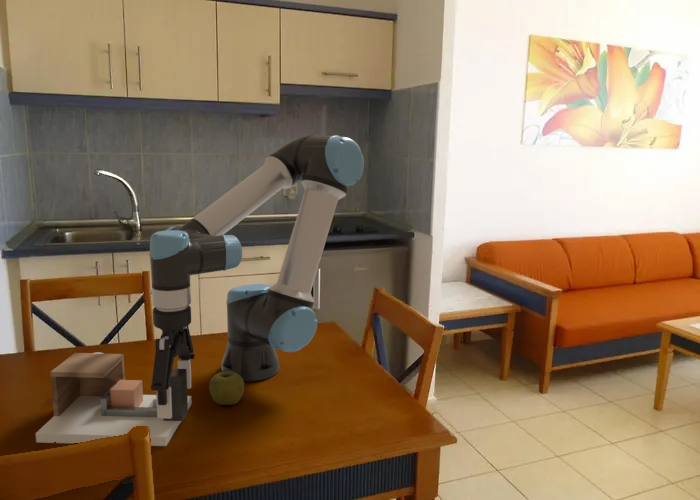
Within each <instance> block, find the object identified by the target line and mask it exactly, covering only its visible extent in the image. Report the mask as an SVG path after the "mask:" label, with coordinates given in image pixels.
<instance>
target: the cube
mask: <svg viewBox="0 0 700 500" xmlns="http://www.w3.org/2000/svg"><path fill="white" fill-rule="evenodd" d="M143 391H144V389H143V380H139V379H134V380H133V379H130V380H129V379H125V380H119V381H118V382H117V383H116V384H115V385H114V386H113V387H112V388H111V390H110V393H111V406H120V407H139V406H140V404H141V403H142V402H143V395H144V392H143Z"/></svg>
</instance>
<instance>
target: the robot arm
mask: <svg viewBox="0 0 700 500" xmlns="http://www.w3.org/2000/svg"><path fill="white" fill-rule="evenodd" d="M361 149H362V148H360V146H359V144H358V143H357V142H356V141H355V140H353V139H351V138H350V137H347V136H340V135H313V134H312V135H311V134H310V135H303V136H300V137H297V138H295V139H293V140H291V141H289V142H287V143H286V144H284V145H283V146H281V147H280V148H278V149H277V150H275V151H274V152H272V153H271V154H270V155H269V156H267V157H266V158H265V159H264V164H263V165H262V166H260V167H259V168H258V169H257V170H256V171H253V173H251V174H250V175H248V176H247V177H246V178H245V179H243V180H242V181H241V182H239V183H238V184H236V185H235V186H234V187H232V188H231V189H230V190H228V191H227V192H226V193H224V194H223V195H222V196H220V197H219V198H218V199H217V200H215V201H214V202H213V203H211V204H209V206H207V207H206V208H204V209H203V210H202V211H200V212H199V213H198V214H196V215H195V216H193V217H192V218H191V219H190V220H188V221H187V222H185V223H184V224H183V225H180V226H179V225H177V226H176V225H175V226H170V227H167V228H166V229H165V230H161V231H160V230H159V231H156V232H154V233H152V235H151V236H150V240H149V241H150V243H149V259H150V260H149V261H150V275H151V277H150V278H151V289H150V291H149V295H152V300H151V301H152V306H153V307H154V308H153V309H152V324H153V326H154V328H157V329H160V330H161V331H162V332H161V335H160V337H159V338H156V339H155V354H154V363H153V370H152V378H151V379H152V380H151V385H150V389H151V391H155V393H156V394H155V395H156V397H157V407H156V408H157V418H165V419H171V418H172V402H171V387H169V383H170V378H171V372H172V369H173V367H174V362H175V357H177V358H179V359H178V360H177V369H187V390H189V389H191V388H192V367H191V364H192V361H191V360H194V359H195V353H194V351H195V350H194V347H193V346H194V345H193V342H192V336H191V334H190V333H191V332H190V329H189V327H190V326H189V325H191V323H192V307H191V306H190V304H192V295H191V294H192V293H191V292H192V291H191V276H195V275H196V276H197V275H200V274H201V275H202V274H208V273H214V272H215V273H216V272H221V271H224V272H225V271H228V270H230V269H234V268H237V267H238V266H240V264H241V262H242V259H243V247H242V244H241V241H240V240H239V238H237V236H235V235H233V234H226V233H227V232H229V231H230V230H231V229H232V228H234V227H236V226H237V225H238V224H239V223H240V222H241V221H242V220H244V219H245V218H246V217H248V216H250V215H251V213H253V212H254V211H256V210H257V209H258V208H259V207H261V206H262V205H263V204H265V203H266V202H267V201H269V200H270V199H271V198H272V197H273V196H274V195H276V194H277V193H278V192H279V191H281V190H282V189H285V190H287V189H290V188H291V187H292V186H293V185H295V184H297V183H301V186H302V187H303V190H304V193H303V196H302V199H301V202H300V206H299V209H298V213H297V216H296V218H295V222H294V226H293V228H292V232H291V234H290V237H289V238H290V239H289V241H288V242H289V243H288V246H287V249H286V252H285V255H284V259H283V262H282V266H281V268H280V272H279V275H278V278H277V282H276V283H275V284H273V285H270V284H268V283H267V284H266V283H265V284H264V283H263V284H262V283H252V284H244V285H239V286H235V287H232V288H230V289H229V290H228V292H227V295H226V297H227V298H226V313H227V316H226V317H227V319H226V321H227V324H226V325H227V344H226V347H225V352H224V355H223V357H222V360H221V364H220V365H221V369H220V370H221V372H224V371H232V372H235V373H237V374H239V375H240V376H241V377H242V379H243V381H244V382H256V381H257V382H258V381H262V380H266V379H270V378H271V377H274V376H275V375H276V374H277V373H278V372H279V370H280V360H279V358H278V354H277V351H276V350H280V351H283V352H286V353H295V352H299V351H300V350H302V349H303V348H304V347H306V346H307V345H308V344H310V342H311V341H312V339H313V338H314V336H315V334H316V332H317V329H318V319H317V315H316V313H315V311H314V310H313V307H314V303H315V300H314V298H313V296H312V293H311V292H312V288H313V286H314V282H315V279H316V276H317V271H318V268H319V267H320V266H319V265H320V262H321V258H322V255H323V252H324V248H325V245H326V241H327V238H328V235H329V232H330V229H331V226H332V223H333V218H334V215H335V211H336V209H337V205H338V201H340V200H341V199H343V198H345V197H346V196H347V193H348V189H349V187H351V186H353V185H355V184H356V183H357V182H359V181H360V179H361V178H362V175H363V172H364V166H365V162H364V161H365V160H364V155H363V153H362V150H361Z"/></svg>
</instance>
